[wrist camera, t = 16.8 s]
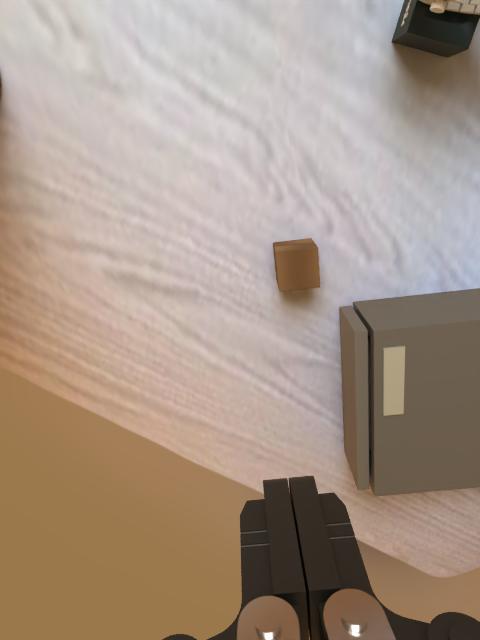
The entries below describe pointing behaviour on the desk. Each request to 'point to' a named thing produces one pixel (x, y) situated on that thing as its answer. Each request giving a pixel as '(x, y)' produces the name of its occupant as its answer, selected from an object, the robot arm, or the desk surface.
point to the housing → (424, 391)
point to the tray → (356, 394)
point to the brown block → (296, 264)
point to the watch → (437, 25)
